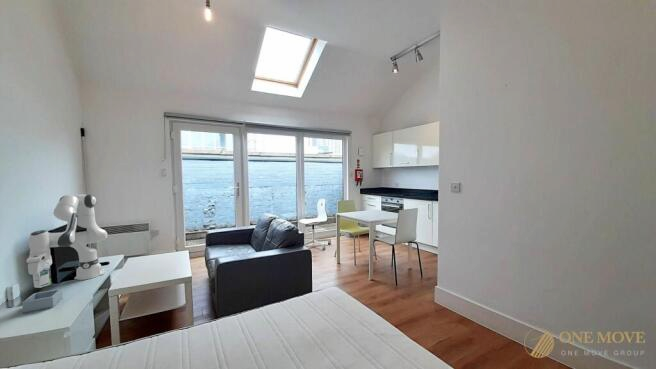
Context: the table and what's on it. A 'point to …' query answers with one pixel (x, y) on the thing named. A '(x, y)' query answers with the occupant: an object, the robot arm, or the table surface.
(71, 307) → the table surface
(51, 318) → the table surface
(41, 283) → the syrup box
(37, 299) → the crate
